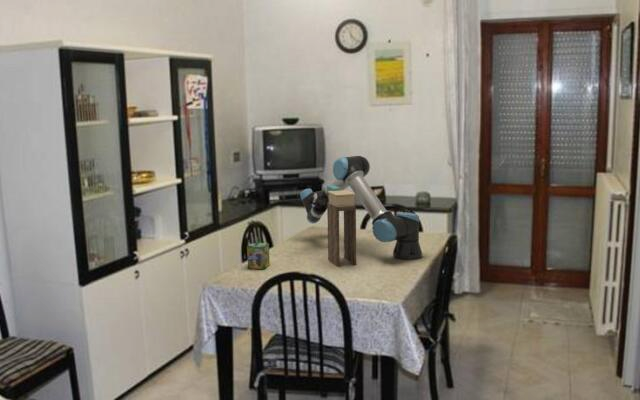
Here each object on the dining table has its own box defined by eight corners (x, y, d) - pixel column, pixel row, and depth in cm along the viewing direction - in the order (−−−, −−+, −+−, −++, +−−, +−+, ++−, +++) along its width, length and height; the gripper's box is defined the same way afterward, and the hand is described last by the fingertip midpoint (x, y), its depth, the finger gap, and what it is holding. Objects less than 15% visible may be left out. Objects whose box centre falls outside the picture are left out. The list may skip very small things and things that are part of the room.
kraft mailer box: (354, 205, 312) (354, 195, 311) (336, 206, 310) (336, 196, 309) (345, 201, 324) (345, 192, 324) (328, 202, 322) (328, 193, 321)
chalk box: (265, 269, 311) (264, 240, 308) (247, 269, 312) (246, 239, 310) (270, 264, 320) (269, 236, 317) (253, 264, 321) (251, 235, 319)
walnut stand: (356, 265, 316) (355, 206, 311) (337, 266, 313) (336, 207, 308) (346, 257, 330) (345, 201, 325) (328, 259, 327) (327, 202, 323)
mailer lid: (355, 195, 311) (355, 191, 311) (336, 196, 308) (336, 192, 308) (339, 188, 334) (339, 185, 334) (321, 189, 331) (321, 186, 331)
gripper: (341, 213, 357) (351, 199, 338) (298, 216, 350) (306, 202, 331) (338, 201, 360) (349, 186, 341) (296, 204, 353) (304, 189, 334)
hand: (328, 194), depth 336 cm, fingers open, 13 cm apart
